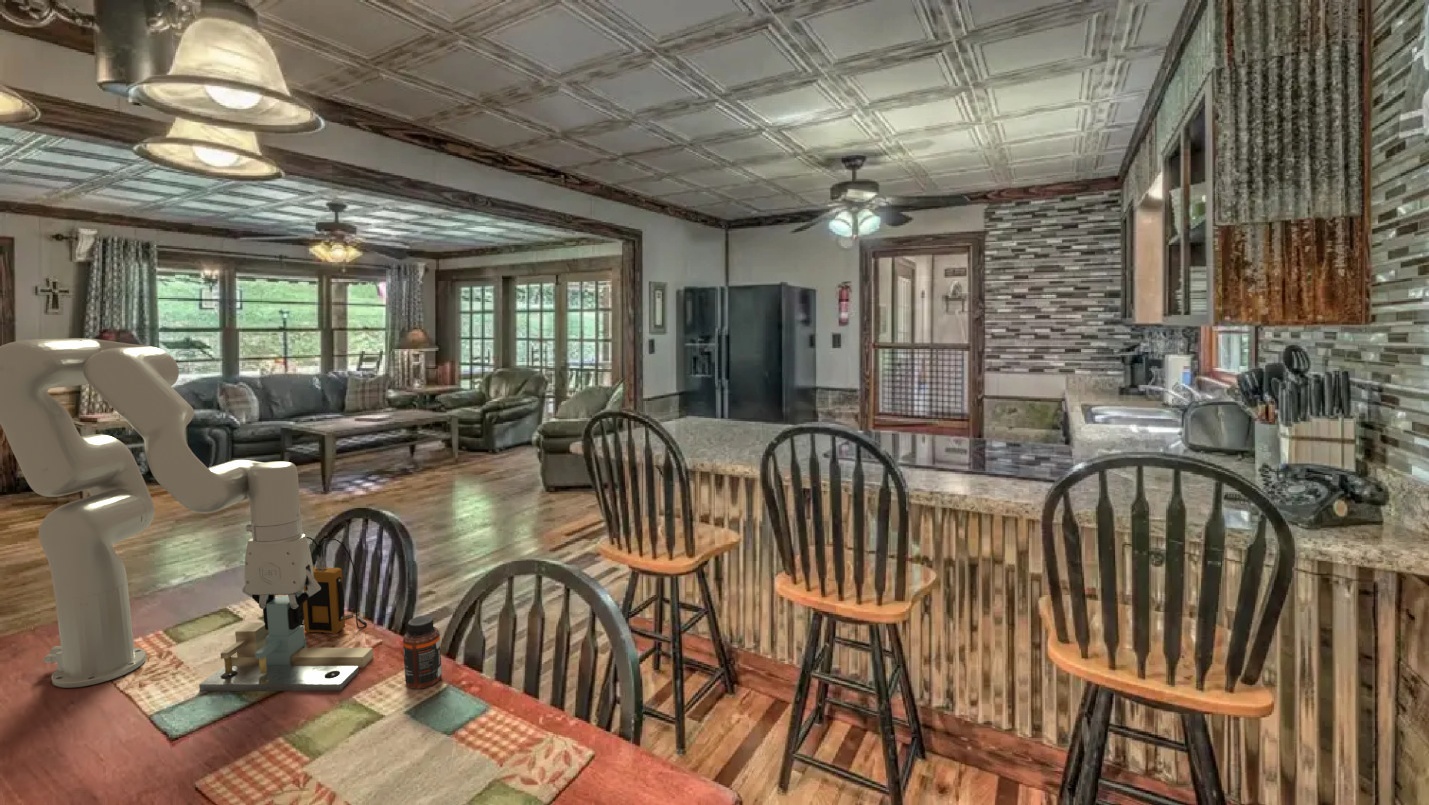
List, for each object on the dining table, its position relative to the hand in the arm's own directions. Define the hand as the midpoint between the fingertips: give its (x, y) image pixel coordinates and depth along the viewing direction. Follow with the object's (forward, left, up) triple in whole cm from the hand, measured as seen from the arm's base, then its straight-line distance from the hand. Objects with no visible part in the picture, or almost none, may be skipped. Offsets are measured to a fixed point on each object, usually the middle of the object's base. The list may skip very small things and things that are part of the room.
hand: (284, 625), depth 122 cm
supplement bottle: (+28, -6, -8) cm, 30 cm away
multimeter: (0, +16, -8) cm, 18 cm away
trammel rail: (+3, -3, -7) cm, 8 cm away
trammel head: (0, -2, -7) cm, 7 cm away
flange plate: (+3, -6, -7) cm, 10 cm away
